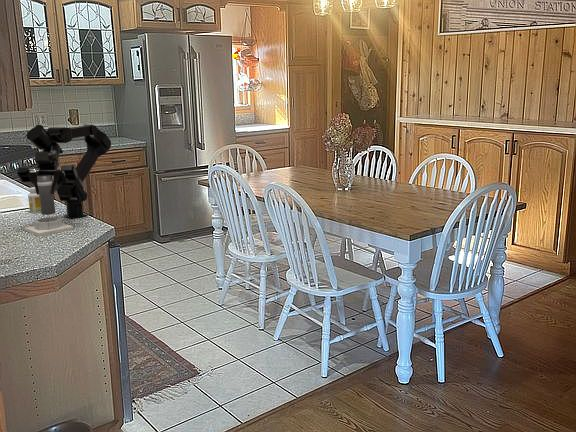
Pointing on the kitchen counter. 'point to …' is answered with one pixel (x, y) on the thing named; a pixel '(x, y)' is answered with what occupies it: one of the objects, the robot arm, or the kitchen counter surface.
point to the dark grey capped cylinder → (46, 194)
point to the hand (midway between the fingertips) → (44, 193)
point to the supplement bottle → (34, 201)
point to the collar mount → (48, 226)
